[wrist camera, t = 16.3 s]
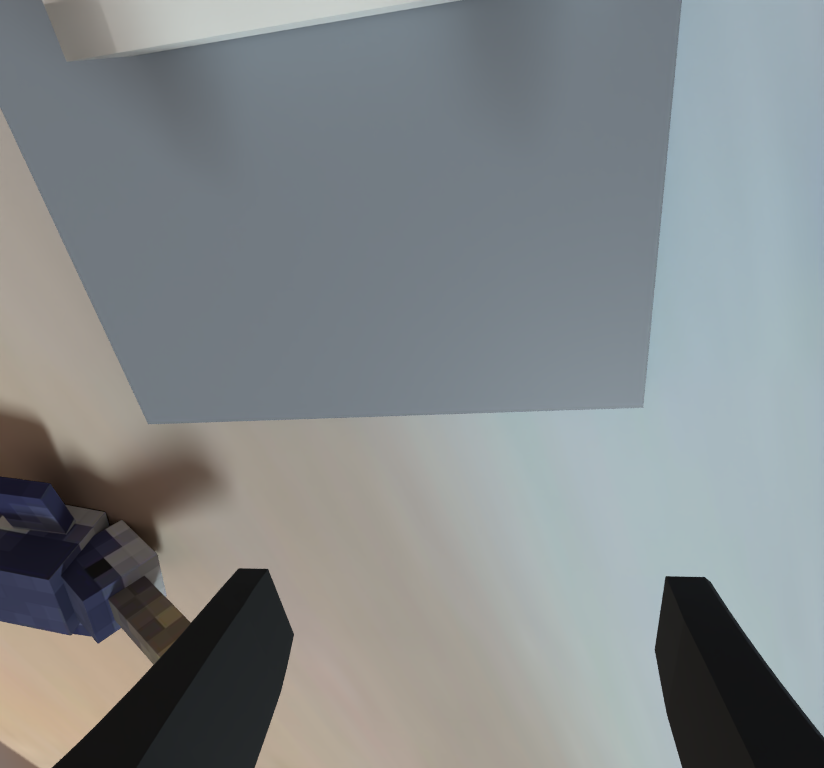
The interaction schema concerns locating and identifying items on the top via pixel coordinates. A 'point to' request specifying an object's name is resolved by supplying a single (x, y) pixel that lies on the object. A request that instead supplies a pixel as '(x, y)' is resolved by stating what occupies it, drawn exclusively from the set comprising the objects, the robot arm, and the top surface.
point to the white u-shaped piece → (192, 21)
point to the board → (364, 206)
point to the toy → (79, 572)
